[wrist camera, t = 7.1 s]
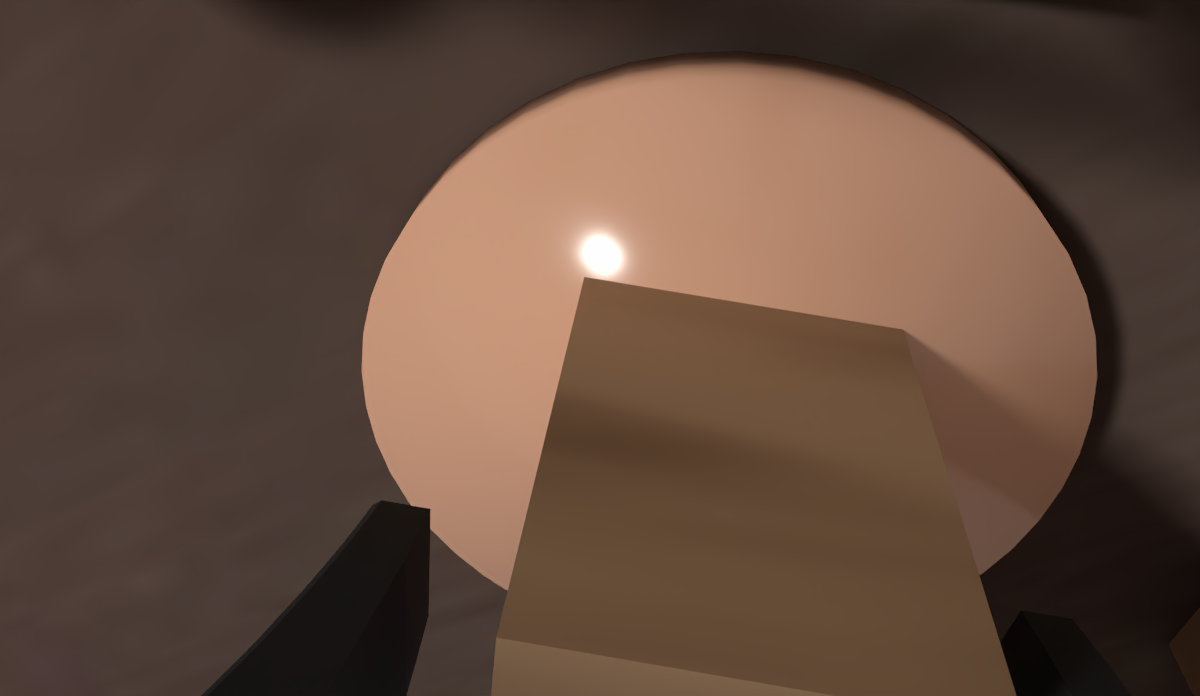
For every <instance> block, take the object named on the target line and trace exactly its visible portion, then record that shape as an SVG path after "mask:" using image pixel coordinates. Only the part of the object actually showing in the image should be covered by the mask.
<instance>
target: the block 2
mask: <svg viewBox="0 0 1200 696" xmlns="http://www.w3.org/2000/svg"><path fill="white" fill-rule="evenodd" d="M1168 645H1169V647H1170V649H1171V651H1172V653H1173V655H1174V657H1175V659H1176V661H1177V663H1178V665H1179V667H1180V669H1181V671H1182V673H1183V676H1184V678H1185V680H1186V682H1187V684H1188V686H1189V688H1190V690H1191V692H1192V694H1193V696H1200V607H1199V609H1198V610H1197V611H1196V612H1195V613H1194V615H1193V616H1192V617H1191V618H1190V619H1189V621H1188V622H1187V623H1186V624H1185V625H1184V627H1183V628H1182V629H1181V630H1180V631H1179V633H1178V634H1177V635H1176V636H1175V637H1174V639H1173V640H1172V641H1171V642H1170V643H1169V644H1168Z"/></svg>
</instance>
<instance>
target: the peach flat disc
mask: <svg viewBox="0 0 1200 696" xmlns="http://www.w3.org/2000/svg"><path fill="white" fill-rule="evenodd" d="M584 277H588V278H594V279H600V280H606V281H612V282H618V283H624V284H630V285H636V286H642V287H648V288H654V289H660V290H666V291H673V292H679V293H685V294H691V295H697V296H703V297H709V298H715V299H721V300H727V301H733V302H739V303H745V304H751V305H757V306H764V307H770V308H776V309H782V310H788V311H794V312H800V313H806V314H812V315H818V316H824V317H830V318H836V319H842V320H848V321H855V322H861V323H867V324H873V325H879V326H885V327H891V328H897V329H903V330H904V334H905V337H906V340H907V343H908V347H909V350H910V353H911V356H912V360H913V363H914V366H915V369H916V372H917V376H918V379H919V382H920V385H921V389H922V392H923V395H924V398H925V402H926V405H927V408H928V411H929V414H930V418H931V421H932V424H933V427H934V431H935V434H936V437H937V440H938V444H939V447H940V450H941V453H942V456H943V460H944V463H945V466H946V469H947V473H948V476H949V479H950V482H951V486H952V489H953V492H954V495H955V498H956V502H957V505H958V508H959V511H960V515H961V518H962V521H963V524H964V528H965V531H966V534H967V537H968V540H969V544H970V547H971V550H972V553H973V557H974V560H975V563H976V566H977V570H978V573H979V575H981V574H983V573H984V572H985V571H986V570H987V569H989V568H990V567H991V566H992V565H993V564H995V563H996V562H997V561H998V560H1000V559H1001V558H1002V557H1003V556H1004V555H1006V554H1007V553H1008V552H1009V551H1010V550H1012V549H1013V548H1014V547H1015V546H1016V545H1017V544H1018V542H1019V541H1020V540H1021V539H1022V538H1023V537H1024V536H1025V535H1026V534H1027V533H1028V532H1029V531H1030V530H1031V529H1032V528H1033V527H1034V526H1035V524H1036V523H1037V522H1038V521H1039V520H1040V519H1041V517H1042V516H1043V515H1044V513H1045V512H1046V510H1047V509H1048V508H1049V506H1050V505H1051V503H1052V502H1053V501H1054V499H1055V498H1056V496H1057V495H1058V494H1059V492H1060V491H1061V489H1062V488H1063V486H1064V484H1065V482H1066V480H1067V478H1068V476H1069V474H1070V472H1071V470H1072V468H1073V466H1074V464H1075V462H1076V460H1077V458H1078V456H1079V455H1080V451H1081V448H1082V445H1083V442H1084V439H1085V436H1086V433H1087V430H1088V427H1089V424H1090V421H1091V418H1092V411H1093V404H1094V397H1095V390H1096V383H1097V358H1096V336H1095V331H1094V327H1093V323H1092V318H1091V314H1090V309H1089V305H1088V300H1087V296H1086V293H1085V291H1084V289H1083V286H1082V284H1081V282H1080V279H1079V277H1078V275H1077V272H1076V270H1075V268H1074V265H1073V263H1072V261H1071V258H1070V256H1069V254H1068V252H1067V251H1066V249H1065V248H1064V246H1063V245H1062V243H1061V242H1060V240H1059V239H1058V237H1057V236H1056V234H1055V233H1054V231H1053V229H1052V228H1051V226H1050V225H1049V223H1048V222H1047V220H1046V219H1045V217H1044V216H1043V214H1042V213H1041V211H1040V210H1039V208H1038V207H1037V205H1036V204H1035V202H1034V201H1033V199H1032V198H1031V196H1030V195H1029V193H1028V192H1027V190H1026V189H1025V187H1024V186H1023V185H1022V183H1021V182H1020V180H1019V179H1018V178H1017V177H1016V176H1015V175H1014V174H1013V173H1012V172H1011V171H1010V170H1009V168H1008V167H1007V166H1006V165H1005V164H1004V163H1003V162H1002V161H1001V160H1000V159H999V158H998V157H997V156H996V155H995V153H994V152H993V151H992V150H991V149H990V148H989V147H988V146H987V145H986V144H984V143H983V142H982V141H981V140H979V139H978V138H977V137H975V136H974V135H973V134H972V133H970V132H969V131H968V130H966V129H965V128H964V127H963V126H961V125H960V124H959V123H957V122H956V121H955V120H954V119H952V118H951V117H950V116H948V115H947V114H945V113H943V112H942V111H940V110H938V109H936V108H934V107H933V106H931V105H929V104H927V103H926V102H924V101H922V100H920V99H918V98H917V97H915V96H913V95H911V94H909V93H908V92H906V91H904V90H902V89H900V88H897V87H895V86H892V85H890V84H887V83H884V82H882V81H879V80H877V79H874V78H871V77H869V76H866V75H864V74H861V73H858V72H856V71H853V70H850V69H846V68H842V67H838V66H833V65H829V64H825V63H820V62H816V61H812V60H808V59H803V58H799V57H793V56H782V55H772V54H761V53H751V52H740V51H739V52H711V53H684V54H678V55H672V56H666V57H660V58H654V59H648V60H642V61H636V62H630V63H626V64H623V65H620V66H617V67H614V68H610V69H607V70H604V71H601V72H597V73H594V74H591V75H588V76H585V77H581V78H578V79H576V80H574V81H571V82H569V83H567V84H565V85H563V86H561V87H559V88H556V89H554V90H552V91H550V92H548V93H546V94H544V95H541V96H539V97H537V98H535V99H533V100H531V101H529V102H528V103H526V104H525V105H523V106H522V107H520V108H519V109H517V110H515V111H514V112H512V113H511V114H509V115H508V116H506V117H505V118H503V119H502V120H500V121H499V122H497V123H495V124H494V125H492V126H491V127H489V128H488V129H487V130H486V131H485V132H484V133H483V134H482V135H480V136H479V137H478V138H477V139H476V140H475V141H474V142H472V143H471V144H470V145H469V146H468V147H467V148H466V149H464V150H463V151H462V152H461V153H460V154H459V155H458V156H457V157H455V159H454V160H453V161H452V162H451V163H450V165H449V166H448V167H447V168H446V169H445V170H444V172H443V173H442V174H441V175H440V176H439V178H438V179H437V180H436V181H435V182H434V184H433V185H432V186H431V187H430V188H429V190H428V191H427V192H426V194H425V195H424V197H423V199H422V200H421V202H420V203H419V205H418V207H417V208H416V210H415V211H414V213H413V215H412V216H411V218H410V219H409V221H408V223H407V224H406V226H405V228H404V229H403V231H402V233H401V234H400V236H399V238H398V239H397V241H396V243H395V244H394V246H393V248H392V249H391V251H390V253H389V254H388V256H387V258H386V260H385V262H384V265H383V267H382V270H381V272H380V275H379V277H378V280H377V282H376V285H375V288H374V290H373V293H372V295H371V299H370V304H369V309H368V313H367V318H366V323H365V328H364V332H363V352H362V377H363V385H364V393H365V401H366V408H367V411H368V415H369V418H370V422H371V425H372V429H373V432H374V436H375V439H376V442H377V444H378V446H379V449H380V451H381V453H382V455H383V457H384V460H385V462H386V464H387V466H388V469H389V471H390V473H391V474H392V476H393V478H394V479H395V481H396V482H397V484H398V486H399V487H400V489H401V490H402V492H403V494H404V495H405V497H406V499H407V500H408V502H409V503H410V504H411V505H412V506H416V507H422V508H428V509H430V529H431V530H432V531H433V532H434V533H435V534H436V535H437V536H438V537H439V538H440V539H441V540H442V541H443V542H444V543H445V544H447V545H448V546H449V547H450V548H451V549H452V550H453V551H454V552H455V553H456V554H457V555H458V556H460V557H461V558H462V559H463V560H465V561H466V562H467V563H468V564H470V565H471V566H472V567H474V568H475V569H476V570H477V571H479V572H480V573H481V574H482V575H484V576H485V577H487V578H488V579H490V580H492V581H493V582H495V583H496V584H498V585H499V586H501V587H503V588H504V589H506V590H507V591H508V588H509V583H510V579H511V575H512V571H513V567H514V563H515V559H516V555H517V551H518V547H519V542H520V538H521V534H522V530H523V526H524V522H525V518H526V514H527V510H528V506H529V501H530V497H531V493H532V489H533V485H534V481H535V477H536V473H537V469H538V465H539V460H540V456H541V452H542V448H543V444H544V440H545V436H546V432H547V428H548V423H549V419H550V415H551V411H552V407H553V403H554V399H555V395H556V391H557V387H558V382H559V378H560V374H561V370H562V366H563V362H564V358H565V354H566V350H567V346H568V341H569V337H570V333H571V329H572V325H573V321H574V317H575V313H576V309H577V305H578V300H579V296H580V292H581V288H582V284H583V280H584Z"/></svg>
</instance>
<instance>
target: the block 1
mask: <svg viewBox="0 0 1200 696" xmlns="http://www.w3.org/2000/svg"><path fill="white" fill-rule="evenodd" d="M491 696H1016V692H1015V689H1014V686H1013V683H1012V679H1011V676H1010V673H1009V670H1008V667H1007V663H1006V660H1005V657H1004V654H1003V650H1002V647H1001V644H1000V641H999V637H998V634H997V631H996V628H995V625H994V621H993V618H992V615H991V612H990V608H989V605H988V602H987V599H986V595H985V592H984V589H983V586H982V582H981V579H980V576H979V573H978V570H977V566H976V563H975V560H974V557H973V553H972V550H971V547H970V544H969V540H968V537H967V534H966V531H965V528H964V524H963V521H962V518H961V515H960V511H959V508H958V505H957V502H956V498H955V495H954V492H953V489H952V486H951V482H950V479H949V476H948V473H947V469H946V466H945V463H944V460H943V456H942V453H941V450H940V447H939V444H938V440H937V437H936V434H935V431H934V427H933V424H932V421H931V418H930V414H929V411H928V408H927V405H926V402H925V398H924V395H923V392H922V389H921V385H920V382H919V379H918V376H917V372H916V369H915V366H914V363H913V360H912V356H911V353H910V350H909V347H908V343H907V340H906V337H905V334H904V330H903V329H897V328H891V327H885V326H879V325H873V324H867V323H861V322H855V321H848V320H842V319H836V318H830V317H824V316H818V315H812V314H806V313H800V312H794V311H788V310H782V309H776V308H770V307H764V306H757V305H751V304H745V303H739V302H733V301H727V300H721V299H715V298H709V297H703V296H697V295H691V294H685V293H679V292H673V291H666V290H660V289H654V288H648V287H642V286H636V285H630V284H624V283H618V282H612V281H606V280H600V279H594V278H588V277H584V280H583V284H582V288H581V292H580V296H579V300H578V305H577V309H576V313H575V317H574V321H573V325H572V329H571V333H570V337H569V341H568V346H567V350H566V354H565V358H564V362H563V366H562V370H561V374H560V378H559V382H558V387H557V391H556V395H555V399H554V403H553V407H552V411H551V415H550V419H549V423H548V428H547V432H546V436H545V440H544V444H543V448H542V452H541V456H540V460H539V465H538V469H537V473H536V477H535V481H534V485H533V489H532V493H531V497H530V501H529V506H528V510H527V514H526V518H525V522H524V526H523V530H522V534H521V538H520V542H519V547H518V551H517V555H516V559H515V563H514V567H513V571H512V575H511V579H510V583H509V588H508V592H507V596H506V600H505V604H504V608H503V612H502V616H501V620H500V624H499V629H498V633H497V637H496V647H495V658H494V669H493V680H492V691H491Z"/></svg>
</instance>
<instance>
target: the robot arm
mask: <svg viewBox="0 0 1200 696" xmlns="http://www.w3.org/2000/svg"><path fill="white" fill-rule="evenodd" d="M429 556H430V509H428V508H422V507H416V506H411V505H405V504H399V503H393V502H387V501H382V500H381V501H380V502H378V503H376V504H374V505H372V507H371V508H370V509H369V511H368V512H367V513H366V515H365V516H364V517H363V519H362V520H361V521H360V523H359V524H358V525H357V526H356V528H355V529H354V530H353V531H352V533H351V534H350V535H349V537H348V538H347V539H346V540H345V542H344V543H343V544H342V545H341V546H340V548H339V549H338V550H337V551H336V553H335V554H334V555H333V556H332V557H331V559H330V560H329V561H328V562H327V563H326V564H325V566H324V567H323V568H322V569H321V570H320V571H319V573H318V574H317V575H316V576H315V577H314V578H313V580H312V581H311V582H310V583H309V584H308V585H307V586H306V588H305V589H304V590H303V591H302V592H301V593H300V594H299V595H298V597H297V598H296V599H295V600H294V601H293V602H292V603H291V604H290V605H289V606H288V607H287V608H286V610H285V611H284V612H283V613H282V614H281V615H280V616H279V617H278V618H277V619H276V620H275V621H274V623H273V624H272V625H271V626H270V627H269V628H268V629H267V630H266V631H265V632H264V633H263V634H262V636H261V637H260V638H259V639H258V640H257V641H256V642H255V643H254V644H253V645H252V646H251V647H250V648H249V649H248V650H247V651H246V652H245V653H244V654H243V655H242V656H241V657H240V658H239V659H238V660H237V661H236V662H235V663H234V664H233V665H232V666H231V667H230V668H229V669H228V670H227V671H226V672H225V673H224V674H223V675H222V676H221V677H220V678H219V679H218V680H217V681H216V682H215V683H214V684H213V685H212V686H211V687H210V688H209V689H208V690H207V691H206V692H205V693H204V694H203V695H202V696H406V695H407V691H408V688H409V684H410V681H411V677H412V673H413V670H414V666H415V663H416V659H417V656H418V652H419V648H420V644H421V641H422V637H423V633H424V630H425V626H426V622H427V618H428V606H429ZM1000 644H1001V647H1002V650H1003V654H1004V657H1005V660H1006V663H1007V667H1008V670H1009V673H1010V676H1011V679H1012V683H1013V686H1014V689H1015V692H1016V696H1132V695H1131V694H1130V693H1129V692H1128V690H1127V689H1126V688H1125V686H1124V685H1123V684H1122V682H1121V681H1120V680H1119V679H1118V677H1117V676H1116V675H1115V673H1114V672H1113V671H1112V670H1111V668H1110V667H1109V666H1108V664H1107V663H1106V662H1105V660H1104V659H1103V658H1102V657H1101V655H1100V654H1099V653H1098V651H1097V650H1096V649H1095V648H1094V646H1093V645H1092V644H1091V643H1090V641H1089V640H1088V639H1087V637H1086V636H1085V635H1084V634H1083V632H1082V631H1081V630H1080V629H1079V628H1078V626H1077V625H1076V624H1075V623H1074V621H1073V620H1072V619H1068V618H1062V617H1056V616H1050V615H1044V614H1038V613H1033V612H1027V611H1020V613H1019V614H1018V616H1017V618H1016V619H1015V621H1014V622H1013V624H1012V625H1011V627H1010V628H1009V630H1008V632H1007V633H1006V635H1005V636H1004V638H1003V639H1002V641H1001V642H1000Z"/></svg>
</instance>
